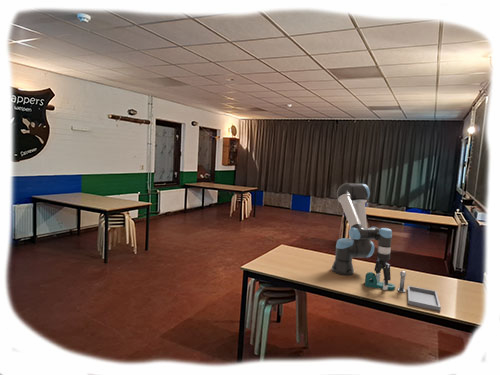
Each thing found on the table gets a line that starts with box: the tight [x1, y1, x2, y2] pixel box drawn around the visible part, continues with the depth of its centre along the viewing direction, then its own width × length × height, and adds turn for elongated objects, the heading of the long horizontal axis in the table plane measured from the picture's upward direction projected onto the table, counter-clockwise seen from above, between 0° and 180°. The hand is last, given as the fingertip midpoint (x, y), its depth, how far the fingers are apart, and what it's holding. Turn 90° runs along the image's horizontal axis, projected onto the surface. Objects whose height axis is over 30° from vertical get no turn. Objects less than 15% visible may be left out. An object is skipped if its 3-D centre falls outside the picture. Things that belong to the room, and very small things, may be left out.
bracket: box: [364, 271, 396, 291], centre depth 211 cm, size 18×7×8 cm, turn 74°
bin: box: [406, 285, 442, 312], centre depth 195 cm, size 16×24×2 cm, turn 156°
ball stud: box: [397, 270, 407, 293], centre depth 205 cm, size 4×4×13 cm
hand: (381, 286), depth 211 cm, fingers open, 9 cm apart
